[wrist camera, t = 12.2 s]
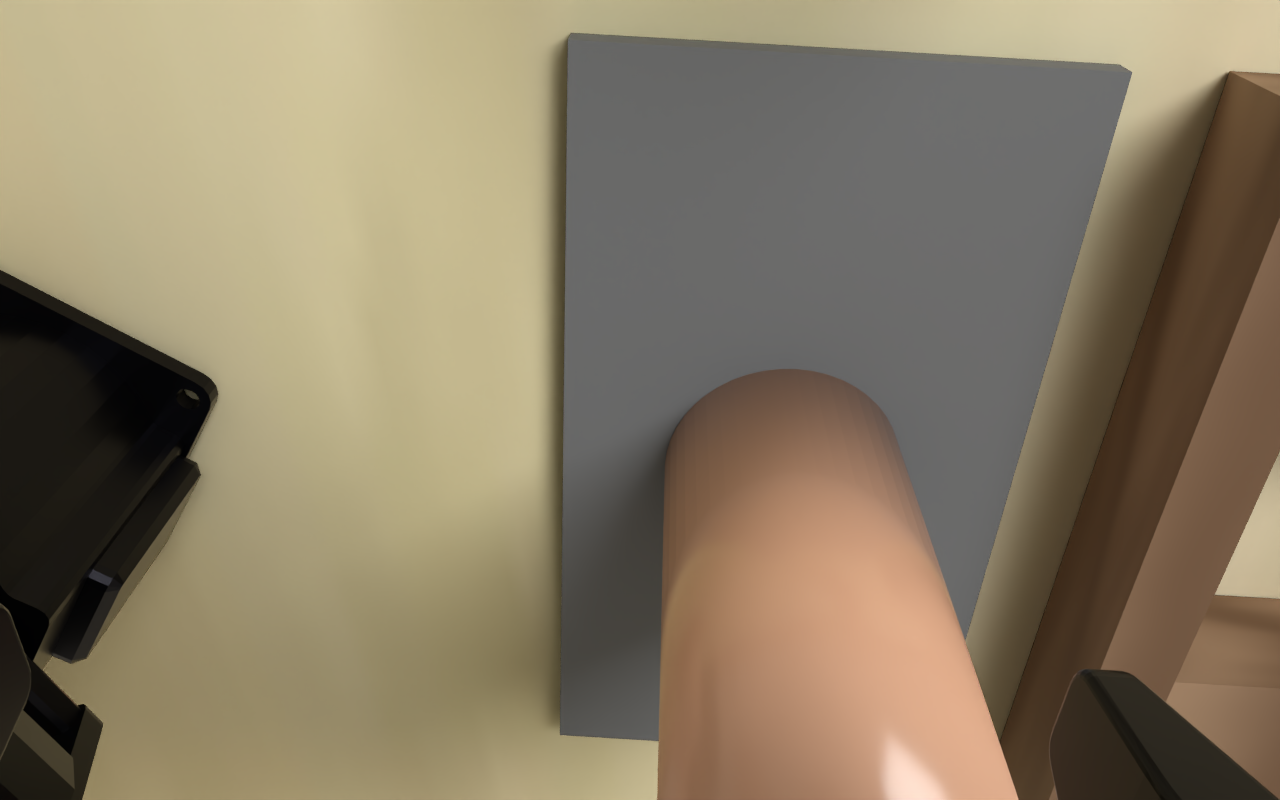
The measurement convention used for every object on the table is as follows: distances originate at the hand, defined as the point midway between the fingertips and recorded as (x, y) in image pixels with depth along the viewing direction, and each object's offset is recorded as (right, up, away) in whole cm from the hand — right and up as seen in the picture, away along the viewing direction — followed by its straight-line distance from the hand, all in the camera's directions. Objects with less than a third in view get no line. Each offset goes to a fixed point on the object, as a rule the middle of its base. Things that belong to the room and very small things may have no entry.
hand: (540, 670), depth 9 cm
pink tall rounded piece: (+4, +1, +14) cm, 14 cm away
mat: (+4, +1, +14) cm, 15 cm away
